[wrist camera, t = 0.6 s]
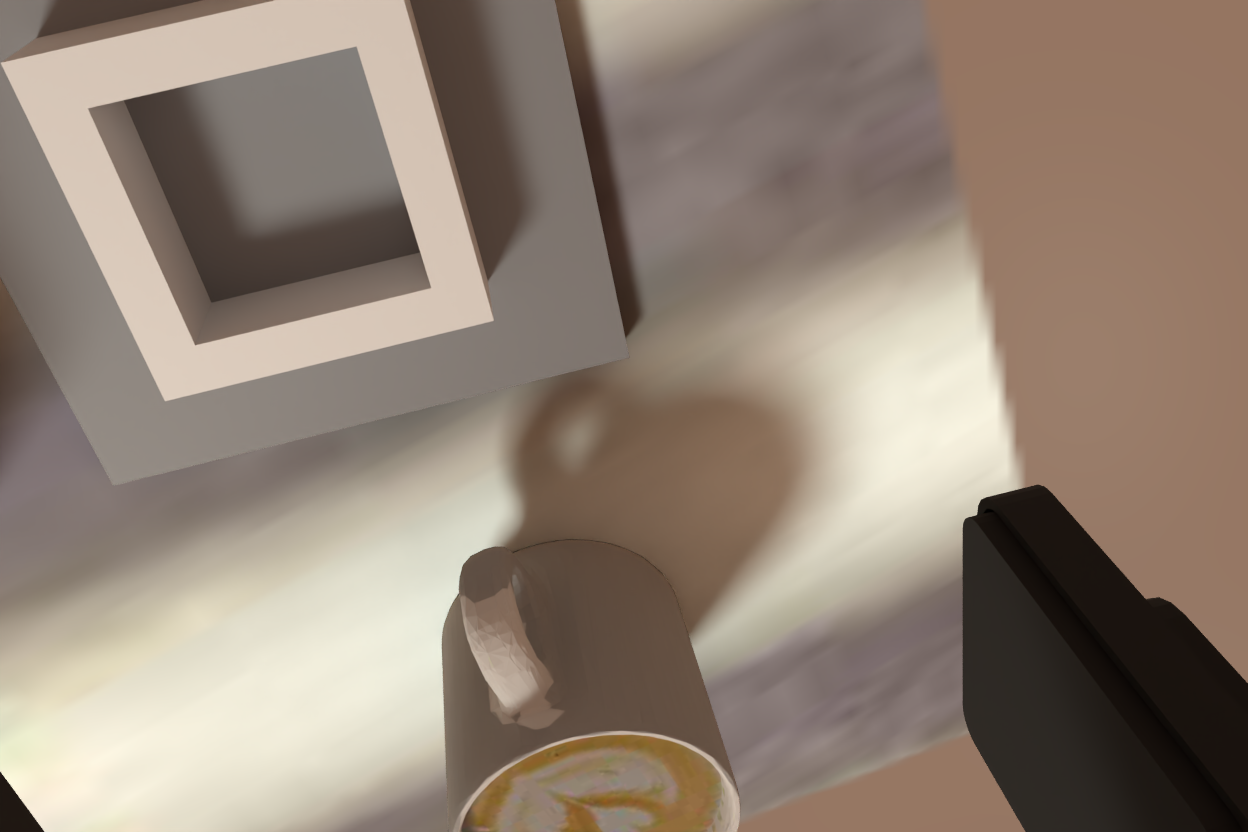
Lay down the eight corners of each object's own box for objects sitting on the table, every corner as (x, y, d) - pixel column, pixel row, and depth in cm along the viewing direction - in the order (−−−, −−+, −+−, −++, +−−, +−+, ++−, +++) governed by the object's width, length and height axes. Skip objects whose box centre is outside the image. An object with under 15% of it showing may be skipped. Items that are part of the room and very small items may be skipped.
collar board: (-176, -93, 28) (-262, -75, 24) (500, -242, 29) (513, -245, 25) (121, 466, 37) (90, 538, 34) (623, 342, 38) (645, 400, 35)
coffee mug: (696, 688, 48) (758, 885, 39) (477, 746, 47) (492, 959, 39) (642, 440, 41) (703, 615, 32) (384, 507, 40) (376, 702, 32)
